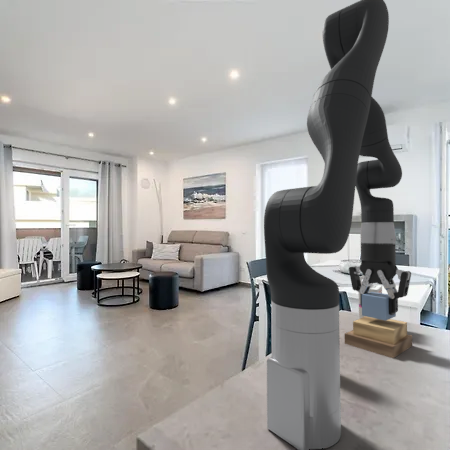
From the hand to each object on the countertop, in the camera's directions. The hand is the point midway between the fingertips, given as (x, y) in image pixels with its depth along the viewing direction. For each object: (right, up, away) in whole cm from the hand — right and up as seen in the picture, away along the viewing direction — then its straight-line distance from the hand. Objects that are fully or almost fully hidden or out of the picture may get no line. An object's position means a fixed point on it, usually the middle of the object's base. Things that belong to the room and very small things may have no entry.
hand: (378, 311), depth 71 cm
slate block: (0, -1, 0) cm, 1 cm away
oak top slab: (0, -6, 0) cm, 6 cm away
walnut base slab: (0, -9, 0) cm, 9 cm away
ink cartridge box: (+4, -9, +12) cm, 15 cm away
